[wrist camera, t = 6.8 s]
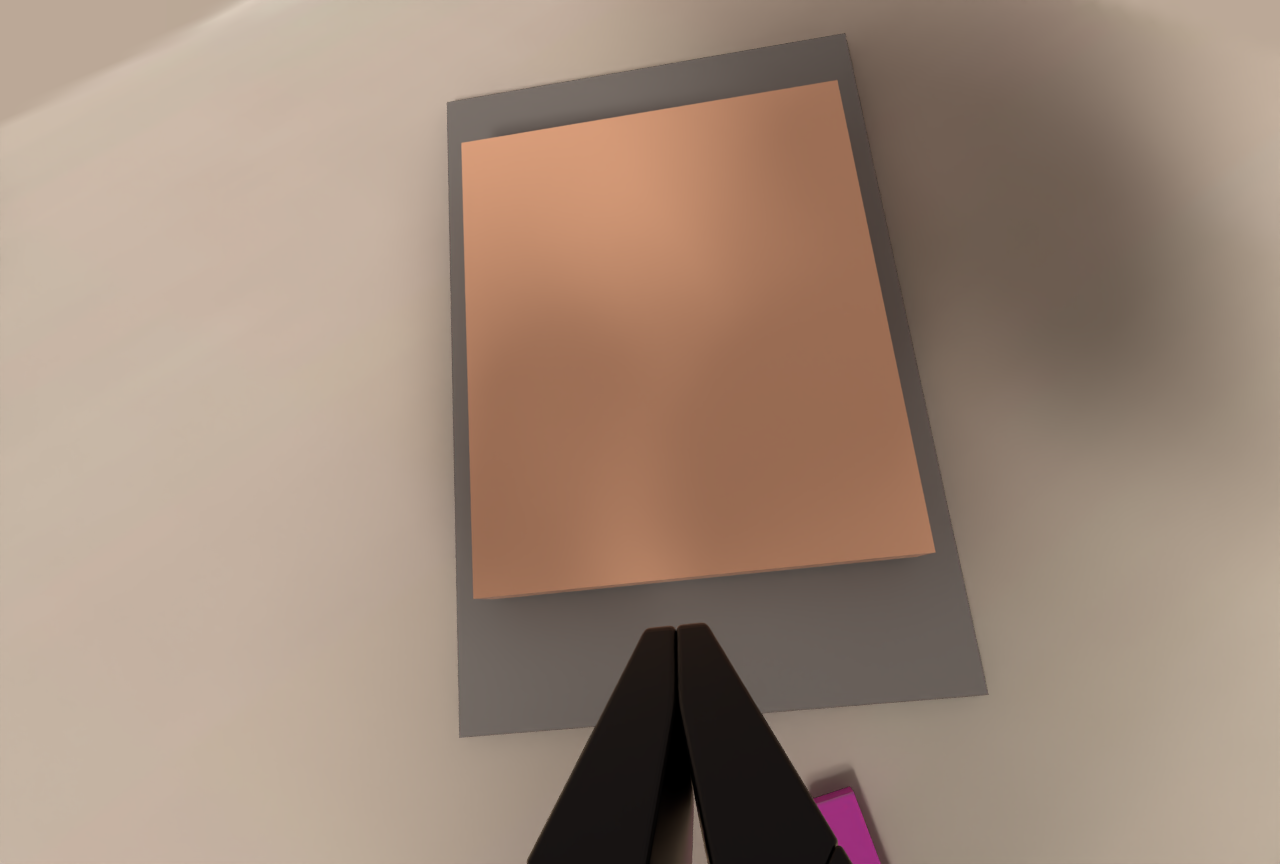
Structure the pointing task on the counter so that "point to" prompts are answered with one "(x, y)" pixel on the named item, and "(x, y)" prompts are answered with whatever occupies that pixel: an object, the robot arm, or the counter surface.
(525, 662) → the rubber mat
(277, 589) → the counter surface
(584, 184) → the ceramic tile
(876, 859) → the squeegee
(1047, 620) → the counter surface
